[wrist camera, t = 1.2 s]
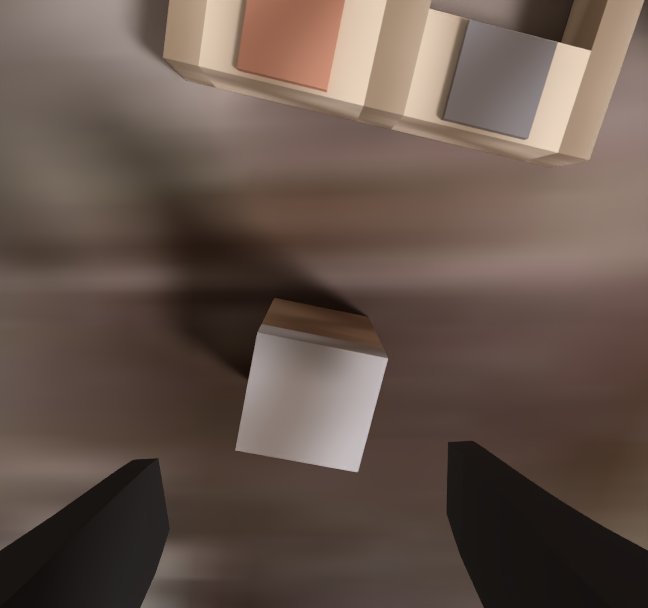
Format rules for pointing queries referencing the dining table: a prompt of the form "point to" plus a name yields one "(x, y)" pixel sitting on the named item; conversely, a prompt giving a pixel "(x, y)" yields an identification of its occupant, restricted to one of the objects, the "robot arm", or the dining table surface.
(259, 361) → the brown rectangular block
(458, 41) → the slot rack
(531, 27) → the dining table surface
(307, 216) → the dining table surface
